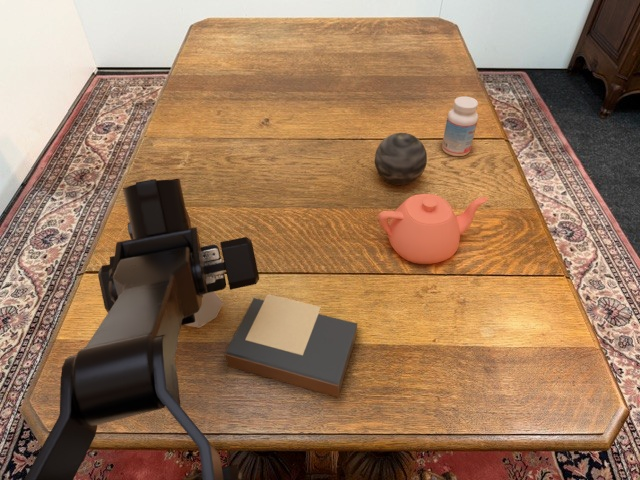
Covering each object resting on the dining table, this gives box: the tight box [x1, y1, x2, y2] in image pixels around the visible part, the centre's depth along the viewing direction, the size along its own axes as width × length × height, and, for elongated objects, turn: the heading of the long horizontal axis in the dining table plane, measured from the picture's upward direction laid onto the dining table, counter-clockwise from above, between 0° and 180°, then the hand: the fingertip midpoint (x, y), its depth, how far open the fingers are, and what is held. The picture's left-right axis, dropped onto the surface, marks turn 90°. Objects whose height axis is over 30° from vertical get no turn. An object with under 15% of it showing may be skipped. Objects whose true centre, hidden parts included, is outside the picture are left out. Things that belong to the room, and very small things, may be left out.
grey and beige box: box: [224, 293, 358, 398], centre depth 67 cm, size 11×16×3 cm
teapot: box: [377, 193, 489, 265], centre depth 79 cm, size 12×18×10 cm
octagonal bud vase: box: [184, 291, 224, 328], centre depth 68 cm, size 7×7×10 cm
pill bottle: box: [441, 95, 479, 157], centre depth 98 cm, size 6×6×11 cm
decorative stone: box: [374, 132, 428, 186], centre depth 91 cm, size 10×10×10 cm
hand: (188, 272), depth 67 cm, fingers closed on octagonal bud vase, 3 cm apart
